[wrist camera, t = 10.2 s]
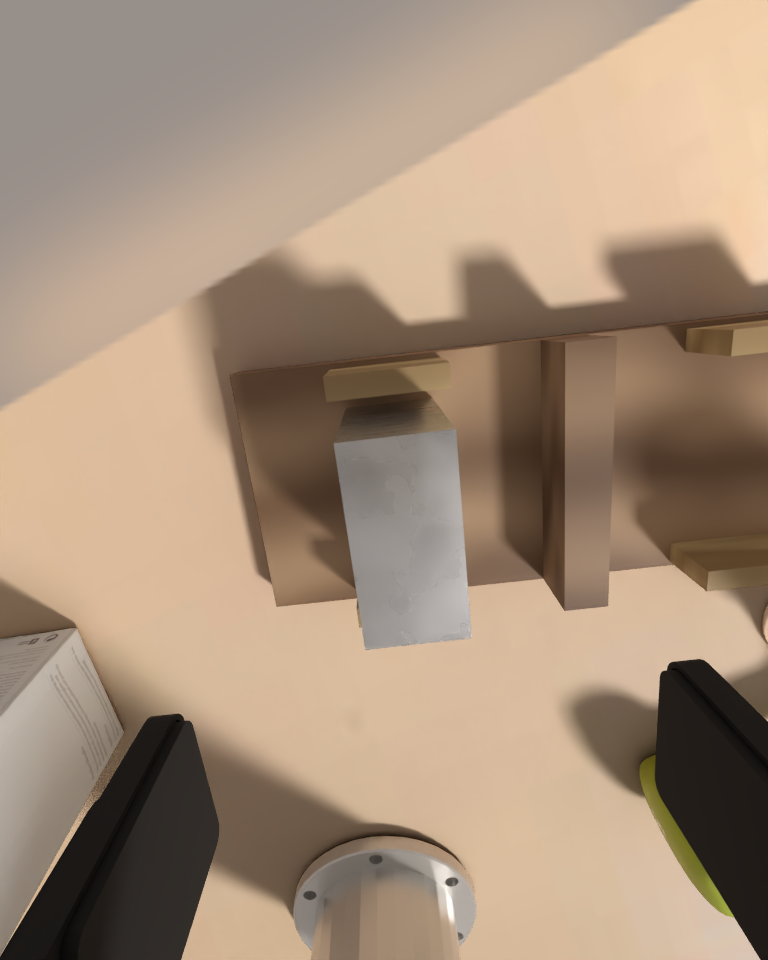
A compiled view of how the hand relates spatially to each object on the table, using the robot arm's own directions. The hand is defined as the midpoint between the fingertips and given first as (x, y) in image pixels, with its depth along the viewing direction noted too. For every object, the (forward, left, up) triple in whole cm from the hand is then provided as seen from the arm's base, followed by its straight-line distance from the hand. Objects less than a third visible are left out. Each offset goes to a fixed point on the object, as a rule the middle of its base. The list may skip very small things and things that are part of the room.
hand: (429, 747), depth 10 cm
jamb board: (+1, -8, -17) cm, 18 cm away
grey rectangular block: (+1, 0, -15) cm, 15 cm away
